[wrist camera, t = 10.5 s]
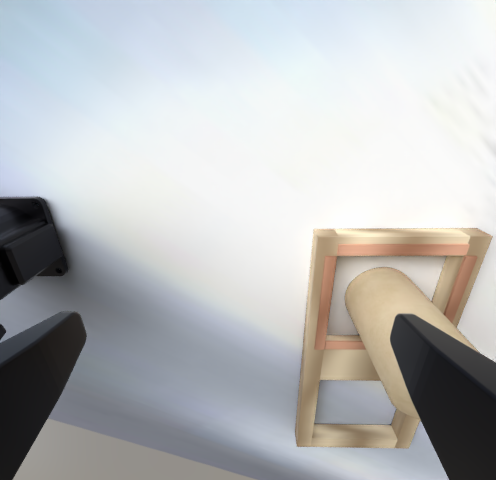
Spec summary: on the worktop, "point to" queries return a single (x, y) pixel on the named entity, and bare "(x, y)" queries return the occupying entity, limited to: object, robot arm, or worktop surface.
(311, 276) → the rail frame
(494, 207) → the worktop surface
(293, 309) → the worktop surface
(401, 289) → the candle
